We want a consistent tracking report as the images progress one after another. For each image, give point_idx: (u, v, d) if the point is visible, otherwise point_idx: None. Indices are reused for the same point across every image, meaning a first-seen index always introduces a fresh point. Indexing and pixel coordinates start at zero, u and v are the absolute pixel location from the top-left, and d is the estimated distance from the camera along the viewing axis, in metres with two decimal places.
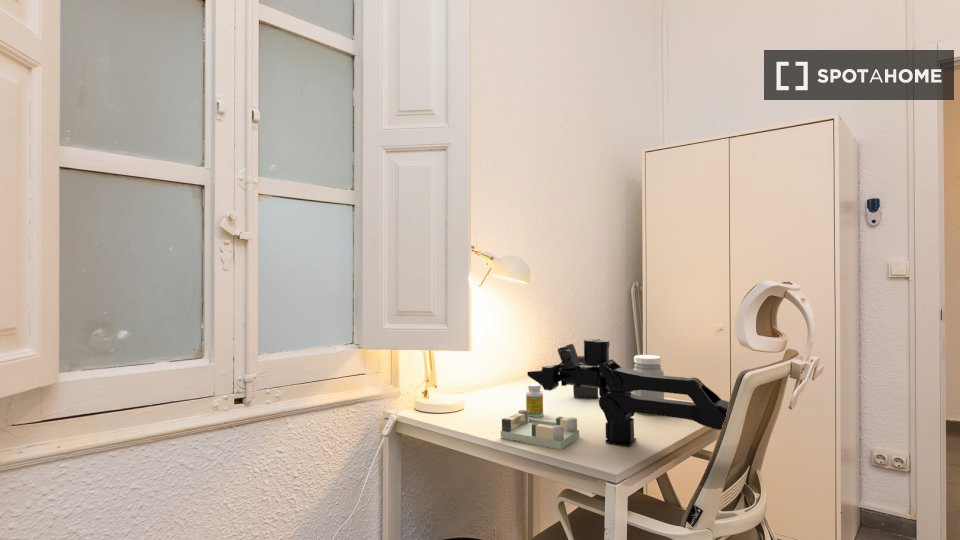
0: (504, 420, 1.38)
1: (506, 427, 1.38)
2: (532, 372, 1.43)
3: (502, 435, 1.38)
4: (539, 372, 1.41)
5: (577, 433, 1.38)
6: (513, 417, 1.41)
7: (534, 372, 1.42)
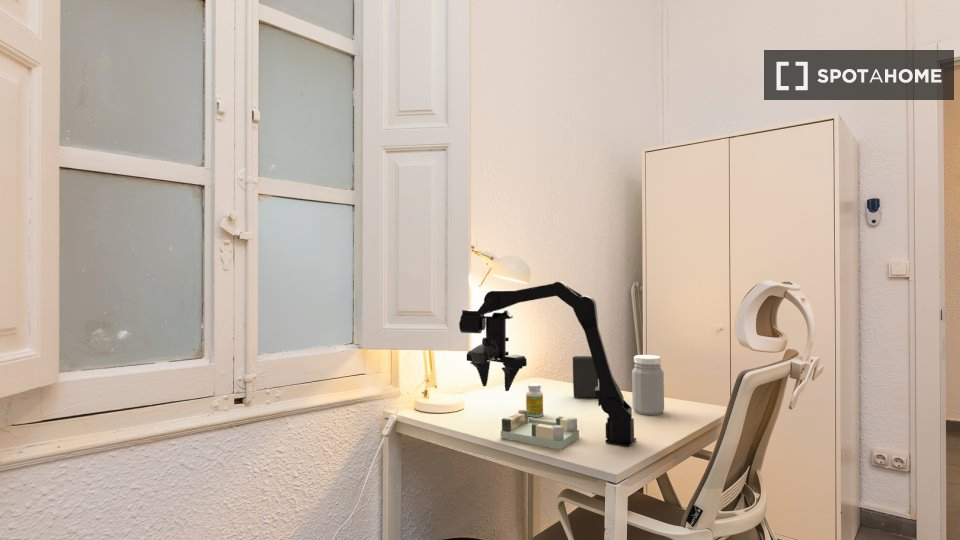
0: (504, 420, 1.38)
1: (506, 427, 1.38)
2: (507, 384, 1.41)
3: (502, 435, 1.38)
4: (509, 375, 1.40)
5: (577, 433, 1.38)
6: (513, 417, 1.41)
7: (508, 382, 1.40)
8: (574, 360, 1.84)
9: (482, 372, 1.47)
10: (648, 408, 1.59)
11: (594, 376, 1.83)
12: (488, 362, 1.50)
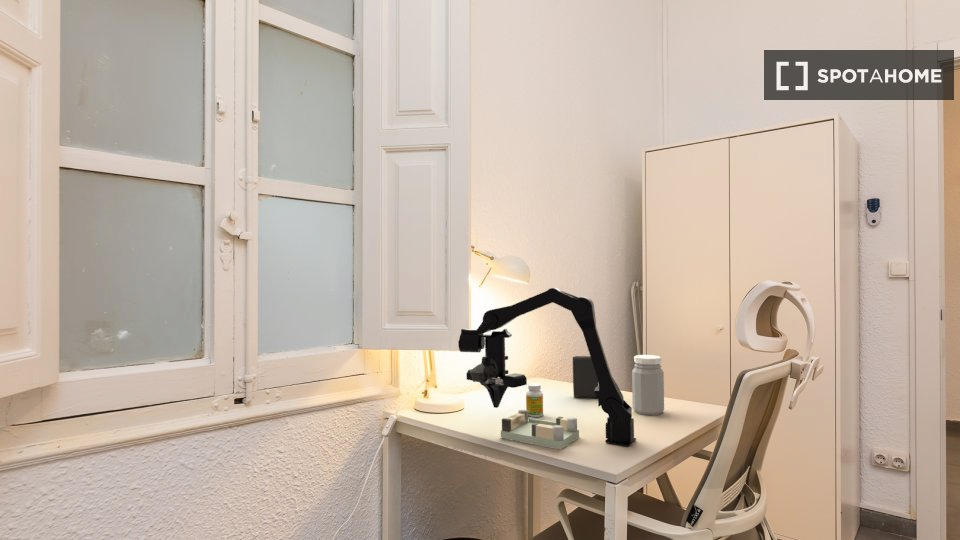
0: (504, 420, 1.38)
1: (506, 427, 1.38)
2: (497, 401, 1.43)
3: (502, 435, 1.38)
4: (498, 392, 1.42)
5: (577, 433, 1.38)
6: (513, 417, 1.41)
7: (497, 398, 1.43)
8: (574, 360, 1.84)
9: (493, 393, 1.44)
10: (648, 408, 1.59)
11: (594, 376, 1.83)
12: None
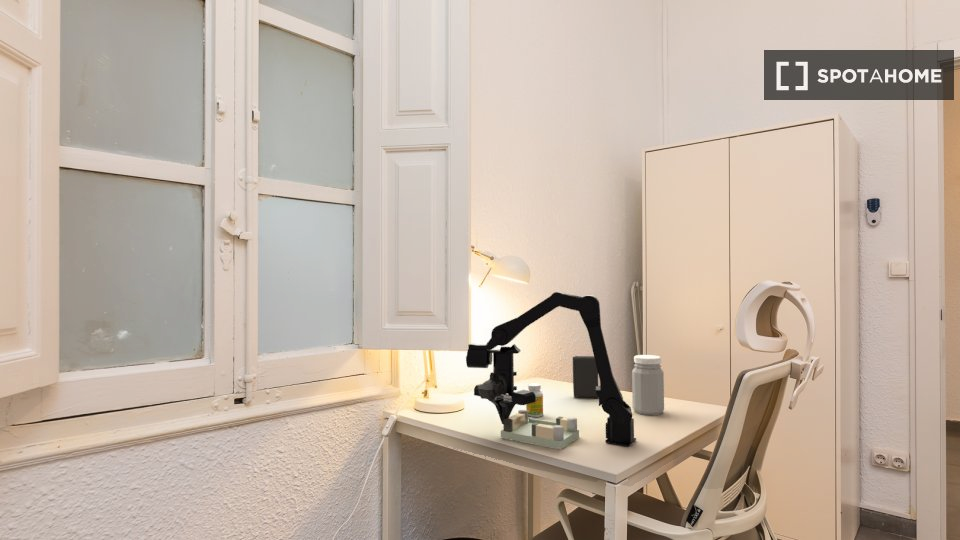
0: (506, 420, 1.38)
1: (507, 428, 1.38)
2: None
3: (502, 435, 1.38)
4: (506, 409, 1.40)
5: (577, 433, 1.38)
6: (514, 417, 1.41)
7: (505, 415, 1.41)
8: (574, 360, 1.84)
9: (501, 409, 1.42)
10: (648, 408, 1.59)
11: (594, 376, 1.83)
12: None
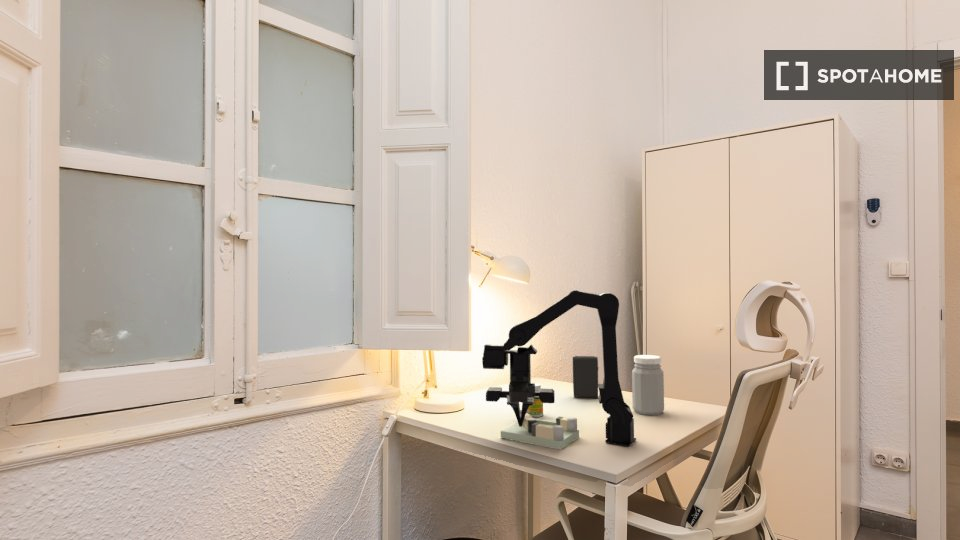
0: (531, 421, 1.37)
1: None
2: (523, 419, 1.39)
3: (502, 435, 1.38)
4: None
5: (577, 433, 1.38)
6: (529, 417, 1.41)
7: (524, 417, 1.38)
8: (574, 360, 1.84)
9: (519, 412, 1.39)
10: (648, 408, 1.59)
11: (594, 376, 1.83)
12: None
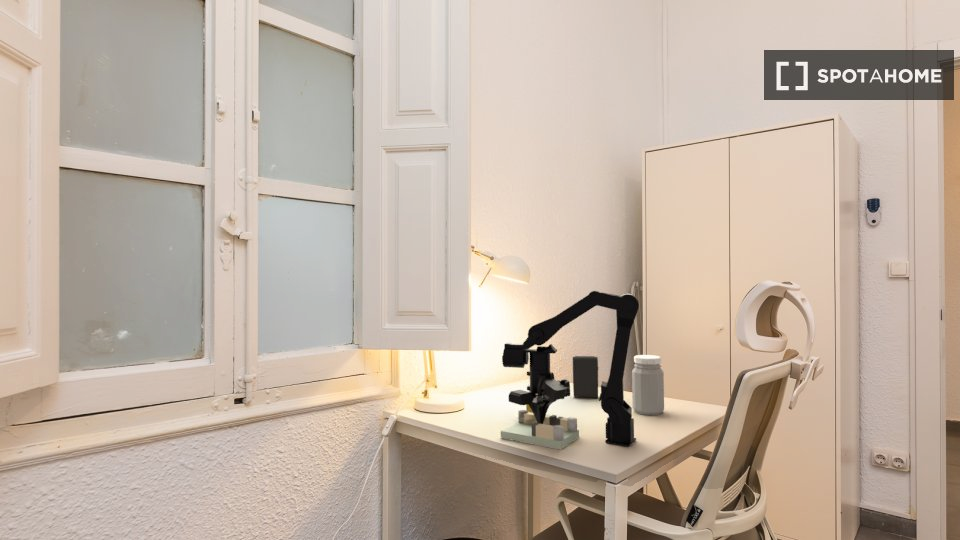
0: (554, 417, 1.41)
1: (555, 424, 1.41)
2: None
3: (502, 435, 1.38)
4: None
5: (577, 433, 1.38)
6: None
7: None
8: (574, 360, 1.84)
9: None
10: (648, 408, 1.59)
11: (594, 376, 1.83)
12: None
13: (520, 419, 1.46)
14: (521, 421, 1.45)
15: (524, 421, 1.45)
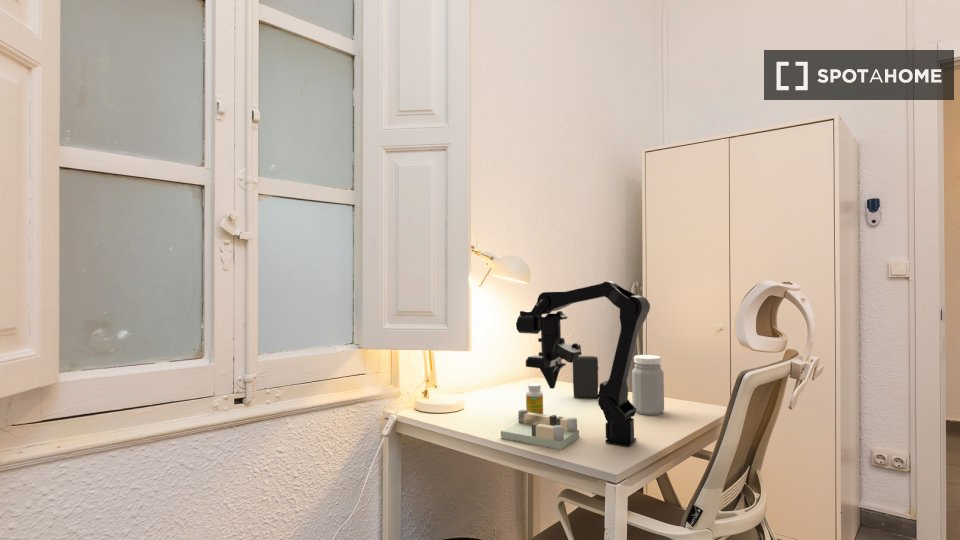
0: (554, 417, 1.41)
1: (555, 424, 1.41)
2: None
3: (502, 435, 1.38)
4: None
5: (577, 433, 1.38)
6: (542, 415, 1.43)
7: None
8: None
9: None
10: (648, 408, 1.59)
11: (594, 376, 1.83)
12: None
13: (520, 419, 1.46)
14: (521, 421, 1.45)
15: (524, 421, 1.45)
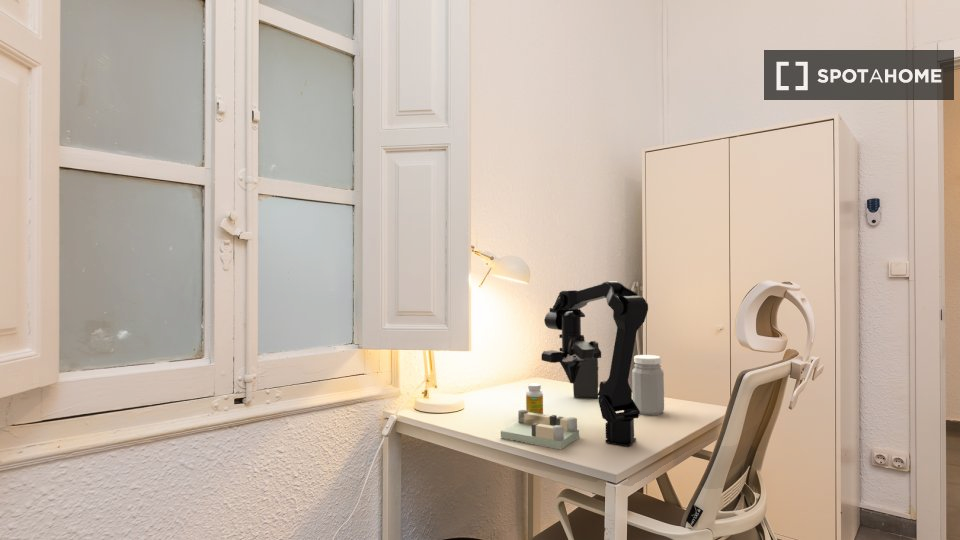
0: (554, 417, 1.41)
1: (555, 424, 1.41)
2: None
3: (502, 435, 1.38)
4: None
5: (577, 433, 1.38)
6: (542, 415, 1.43)
7: None
8: None
9: None
10: (648, 408, 1.59)
11: (594, 376, 1.83)
12: None
13: (520, 419, 1.46)
14: (521, 421, 1.45)
15: (524, 421, 1.45)
